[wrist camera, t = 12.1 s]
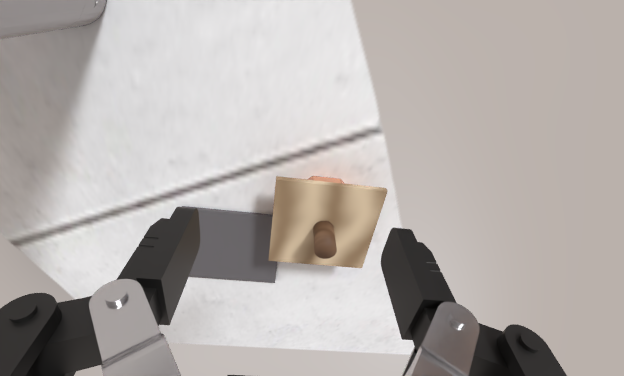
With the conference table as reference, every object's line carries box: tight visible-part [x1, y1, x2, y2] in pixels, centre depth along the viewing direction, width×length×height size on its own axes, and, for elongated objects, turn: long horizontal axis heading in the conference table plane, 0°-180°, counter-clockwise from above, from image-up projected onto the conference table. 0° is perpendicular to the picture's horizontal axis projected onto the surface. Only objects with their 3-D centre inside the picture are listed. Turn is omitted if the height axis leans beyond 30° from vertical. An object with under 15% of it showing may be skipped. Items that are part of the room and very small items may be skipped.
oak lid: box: [269, 176, 387, 268], centre depth 43 cm, size 15×15×5 cm
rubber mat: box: [182, 206, 277, 283], centre depth 54 cm, size 16×16×1 cm
